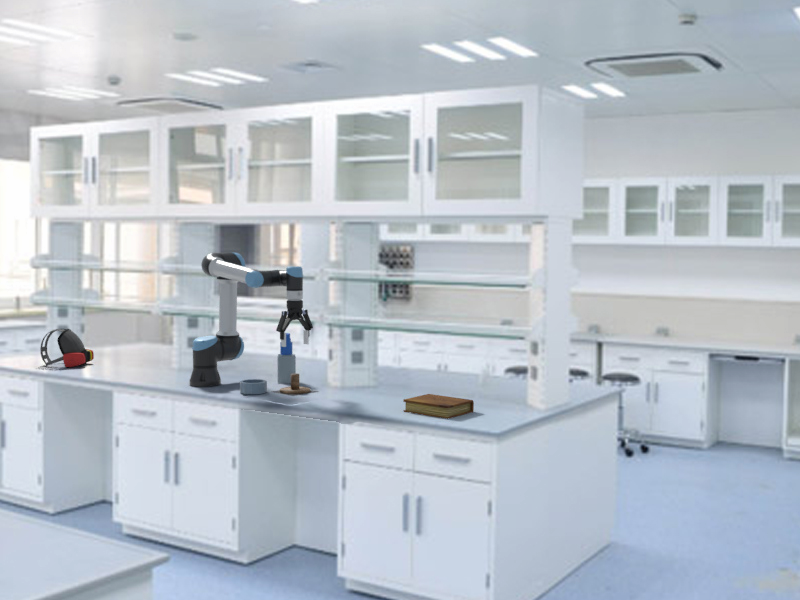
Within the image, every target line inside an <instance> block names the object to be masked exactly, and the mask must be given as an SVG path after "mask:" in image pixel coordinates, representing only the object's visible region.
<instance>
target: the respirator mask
mask: <svg viewBox="0 0 800 600" xmlns="http://www.w3.org/2000/svg"><path fill="white" fill-rule="evenodd" d="M55 332H61V333H60V334H59V335H58V336H57V339H56V341H57V344H58V345H57V346H58V348H59V350H60V351H59V352H60V353H61V354H62V356H60V357H58V358H55V359H53V360H51V358H50V356H49V354H48V342H49V340H50V337H51V336H52V335H53V333H55ZM45 338H46V339H45ZM44 341H45V342H44ZM43 345H44V346H43ZM39 348H40V350H39V351H40V356H41V359H42V361H43V362H44V364H45V366H46V367H47V366H50V365H54V364H56V363H58V362H59V363H60V362H62V361H63V364H64V365H63V366H64V367H65V368H66V367H69V368H73V367H74V368H75V367H78V366H86V364H87V363H89V362H91V361H93V360H94V358H95V354H94V350H92V349H88V348H85V345H84V342H83V341H82V339H81V338H80V337H79V336H78V335H77V334H76V333H75V332H74V331H72V329H70V328H66V329H65V328H56V329H52V330H51V331H49V332H47V333H45V335H44V336H43V338H42V340H41V343H40V347H39Z"/></svg>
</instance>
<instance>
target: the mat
mask: <svg viewBox="0 0 800 600" xmlns="http://www.w3.org/2000/svg"><path fill="white" fill-rule="evenodd" d="M319 392H320V391H318V390H313V389H310V392H309V393H305V394H284V393H280V389H278V390H272V391H271V393H275V394H280V395H286V396H291V397H295V396H296V397H297V396H301V395H308V394H309V395H310V394H314V393H319Z"/></svg>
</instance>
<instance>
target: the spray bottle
mask: <svg viewBox="0 0 800 600" xmlns="http://www.w3.org/2000/svg"><path fill="white" fill-rule="evenodd" d="M285 333H286V347H281V341H280V345H279V347H280V352H279V354H277V385H282V384H291V374H297V372H296V371H297V370H296V367H297V365H296V361H297V360H296V359H297V358H296V354H295V353H293V341H292V340H291V333H290V332H289V333H288V332H285Z"/></svg>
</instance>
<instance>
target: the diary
mask: <svg viewBox="0 0 800 600" xmlns="http://www.w3.org/2000/svg"><path fill="white" fill-rule="evenodd" d="M474 402H475V401H474V400H473V399H467V398H459V397H453V396H446V395H439V394H434V393H427V394H423V395H418V396H413V397H409V398H404V399H403V403H405V410H403V411H404V412H405V413H409V412H411V413H410V414H415V413H417V415H421V414H423V416H429V417H435V418H440V417H441V418H442V419H446V418H447V419H448V418H449V419H453V418H456V417H459V416H460V417H461V416H463V415H467V414H470V413H473V412H474V409H475V408H474ZM403 411H402V412H403ZM452 417H453V418H452ZM447 419H446V420H447ZM449 419H448V420H449Z"/></svg>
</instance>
